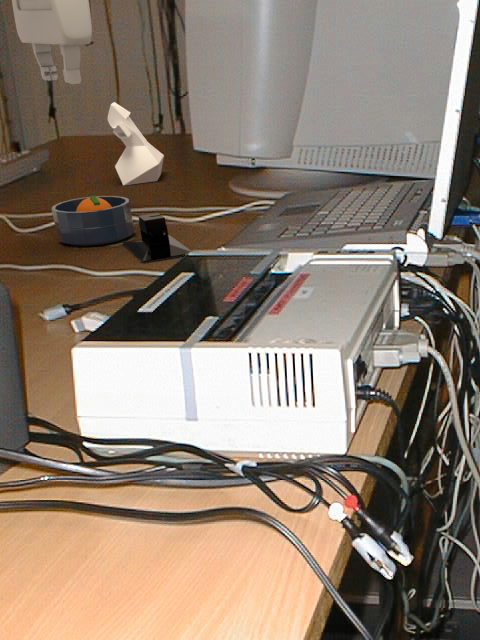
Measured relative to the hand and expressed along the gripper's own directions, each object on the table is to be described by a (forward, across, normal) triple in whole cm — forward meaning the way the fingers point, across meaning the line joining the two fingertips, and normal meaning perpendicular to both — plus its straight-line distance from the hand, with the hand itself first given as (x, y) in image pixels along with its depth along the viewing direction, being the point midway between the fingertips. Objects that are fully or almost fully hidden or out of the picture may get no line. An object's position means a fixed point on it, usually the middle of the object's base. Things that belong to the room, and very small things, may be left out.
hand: (61, 82), depth 122 cm
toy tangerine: (+18, -1, +2) cm, 18 cm away
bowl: (+22, -3, +2) cm, 22 cm away
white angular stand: (+21, -44, +26) cm, 55 cm away
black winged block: (+22, +10, +6) cm, 25 cm away
